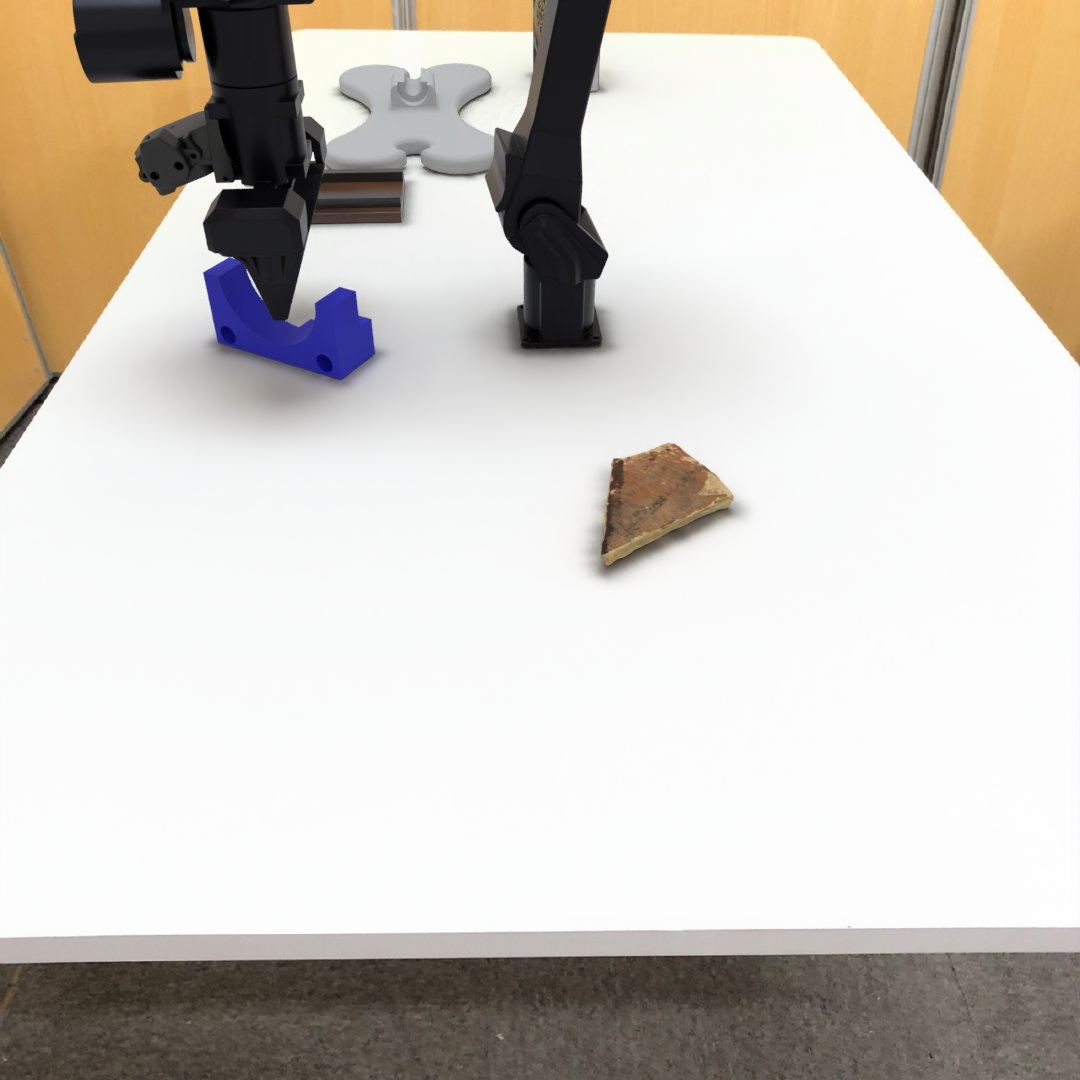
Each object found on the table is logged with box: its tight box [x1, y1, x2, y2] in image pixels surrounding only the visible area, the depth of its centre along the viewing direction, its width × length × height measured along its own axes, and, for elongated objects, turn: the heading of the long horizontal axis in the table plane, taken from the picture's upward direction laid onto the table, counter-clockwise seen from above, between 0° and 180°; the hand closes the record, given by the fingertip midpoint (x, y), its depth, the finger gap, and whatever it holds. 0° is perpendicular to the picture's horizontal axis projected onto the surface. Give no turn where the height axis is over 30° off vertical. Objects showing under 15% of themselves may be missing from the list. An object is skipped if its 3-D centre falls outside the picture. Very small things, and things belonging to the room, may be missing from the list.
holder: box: [325, 62, 494, 175], centre depth 123 cm, size 19×34×5 cm, turn 5°
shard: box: [599, 442, 735, 566], centre depth 68 cm, size 11×8×2 cm
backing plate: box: [311, 167, 406, 225], centre depth 105 cm, size 10×15×2 cm, turn 94°
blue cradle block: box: [202, 257, 376, 381], centre depth 82 cm, size 12×4×6 cm, turn 62°
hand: (287, 290), depth 81 cm, fingers open, 9 cm apart
